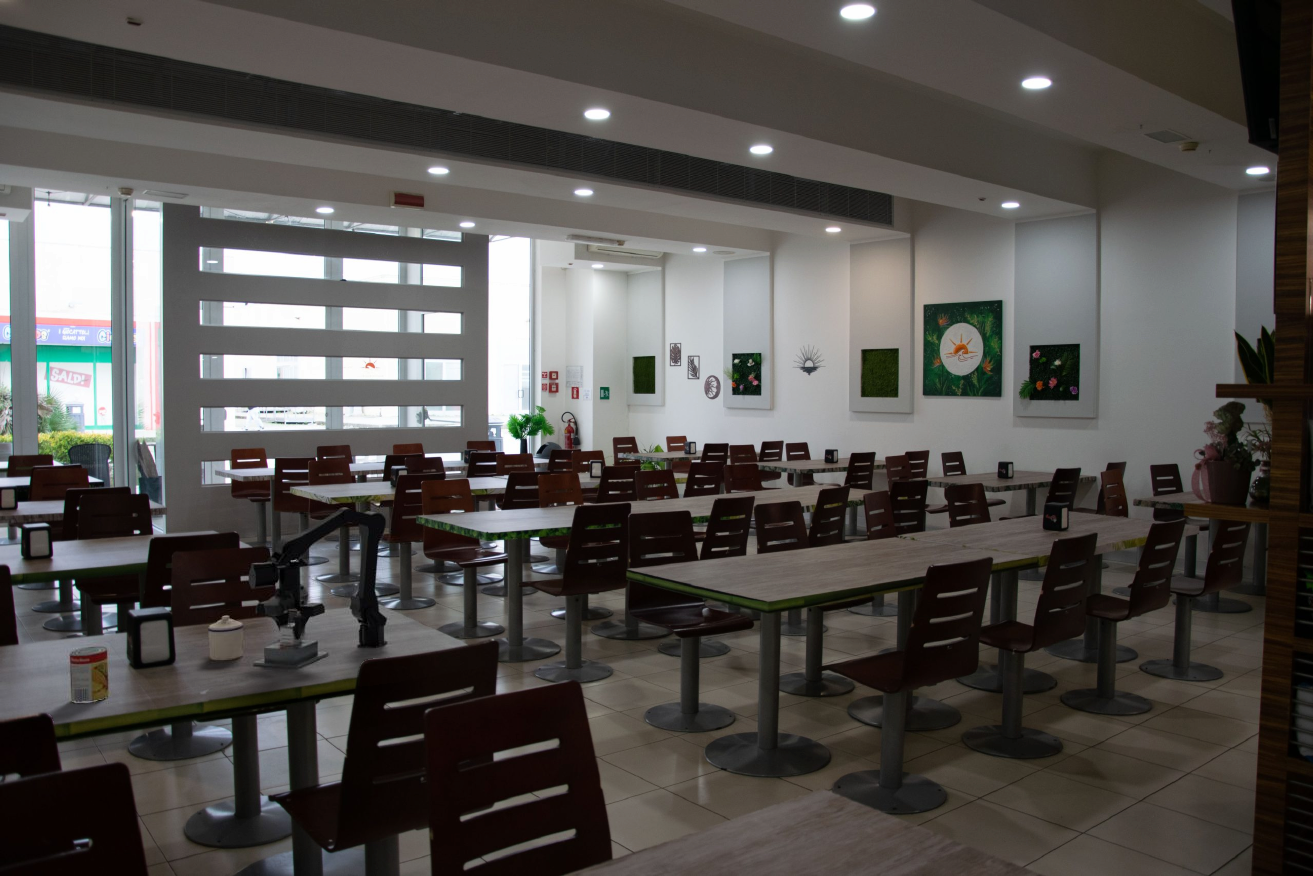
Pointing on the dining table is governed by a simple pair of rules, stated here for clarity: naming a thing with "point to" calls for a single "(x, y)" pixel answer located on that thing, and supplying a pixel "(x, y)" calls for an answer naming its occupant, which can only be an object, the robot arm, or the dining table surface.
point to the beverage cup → (303, 597)
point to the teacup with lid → (226, 639)
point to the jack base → (291, 655)
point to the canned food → (89, 674)
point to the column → (289, 636)
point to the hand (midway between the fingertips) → (291, 639)
